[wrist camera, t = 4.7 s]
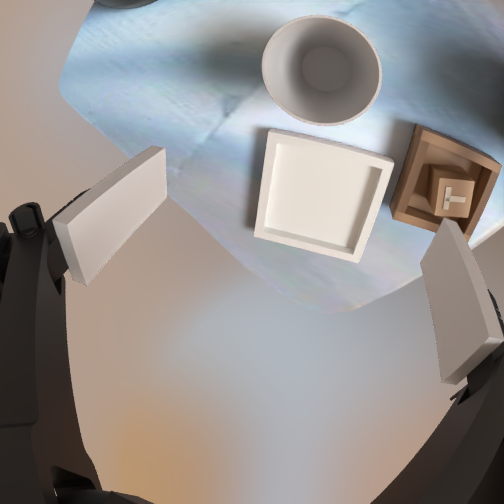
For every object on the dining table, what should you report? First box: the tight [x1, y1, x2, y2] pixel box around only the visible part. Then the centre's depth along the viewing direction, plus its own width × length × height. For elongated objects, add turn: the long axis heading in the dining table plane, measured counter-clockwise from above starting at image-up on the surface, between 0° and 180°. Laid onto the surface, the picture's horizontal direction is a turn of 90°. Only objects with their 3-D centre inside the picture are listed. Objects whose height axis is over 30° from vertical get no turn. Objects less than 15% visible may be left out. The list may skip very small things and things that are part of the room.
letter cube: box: [426, 164, 475, 218], centre depth 25 cm, size 4×4×4 cm
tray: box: [254, 128, 394, 263], centre depth 32 cm, size 13×13×2 cm
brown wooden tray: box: [390, 124, 502, 243], centre depth 26 cm, size 10×10×3 cm
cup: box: [262, 15, 382, 126], centre depth 20 cm, size 8×8×10 cm
